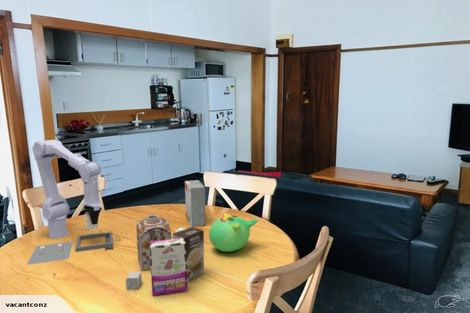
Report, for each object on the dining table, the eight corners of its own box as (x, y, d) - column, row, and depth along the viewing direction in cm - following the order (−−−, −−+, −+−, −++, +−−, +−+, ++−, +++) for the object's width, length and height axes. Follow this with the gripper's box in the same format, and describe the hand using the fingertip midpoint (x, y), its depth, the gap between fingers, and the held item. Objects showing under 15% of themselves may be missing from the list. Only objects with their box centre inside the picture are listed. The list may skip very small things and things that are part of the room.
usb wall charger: (141, 282, 117) (141, 271, 116) (136, 293, 110) (136, 282, 109) (129, 282, 117) (129, 271, 116) (124, 294, 110) (123, 282, 109)
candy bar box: (185, 283, 116) (184, 236, 113) (187, 291, 111) (186, 242, 109) (151, 288, 113) (149, 240, 110) (151, 296, 108) (149, 246, 106)
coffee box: (185, 284, 116) (184, 238, 113) (173, 278, 120) (171, 233, 117) (204, 273, 123) (204, 230, 120) (192, 268, 127) (191, 226, 124)
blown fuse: (86, 228, 146) (85, 212, 145) (96, 226, 149) (95, 210, 147) (88, 230, 144) (87, 214, 143) (98, 228, 146) (97, 212, 145)
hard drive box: (185, 217, 183) (184, 180, 180) (199, 216, 185) (199, 179, 182) (190, 227, 168) (189, 187, 165) (206, 226, 170) (205, 186, 167)
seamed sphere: (186, 248, 144) (185, 231, 142) (170, 246, 146) (170, 229, 145) (196, 239, 153) (196, 223, 152) (181, 237, 155) (181, 222, 154)
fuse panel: (36, 248, 145) (35, 240, 144) (73, 243, 149) (72, 235, 149) (27, 267, 128) (26, 258, 127) (68, 261, 133) (67, 252, 132)
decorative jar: (137, 258, 135) (135, 213, 133) (167, 253, 139) (165, 210, 137) (140, 271, 124) (138, 223, 121) (173, 266, 128) (171, 219, 125)
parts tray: (78, 241, 152) (78, 235, 152) (112, 237, 157) (112, 231, 156) (75, 254, 139) (75, 248, 138) (112, 249, 144) (112, 243, 143)
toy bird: (225, 238, 155) (225, 206, 153) (259, 245, 146) (259, 212, 144) (201, 252, 140) (200, 217, 137) (237, 262, 131) (237, 225, 129)
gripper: (77, 189, 148) (79, 220, 150) (85, 196, 136) (87, 229, 138) (94, 187, 152) (96, 216, 154) (103, 193, 140) (106, 226, 142)
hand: (93, 222), depth 146 cm, fingers closed on blown fuse, 3 cm apart
